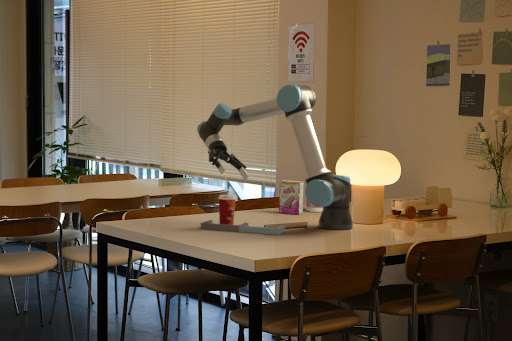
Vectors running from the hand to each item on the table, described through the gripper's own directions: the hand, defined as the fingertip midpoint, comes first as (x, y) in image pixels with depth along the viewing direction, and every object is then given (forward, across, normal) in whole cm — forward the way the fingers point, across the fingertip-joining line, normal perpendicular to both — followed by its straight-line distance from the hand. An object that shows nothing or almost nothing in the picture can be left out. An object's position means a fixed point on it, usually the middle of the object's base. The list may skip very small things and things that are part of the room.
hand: (235, 175), depth 320 cm
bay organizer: (+22, -1, -12) cm, 25 cm away
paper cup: (+16, +1, -18) cm, 24 cm away
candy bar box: (-9, -55, -18) cm, 58 cm away
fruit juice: (-12, -72, -15) cm, 74 cm away
